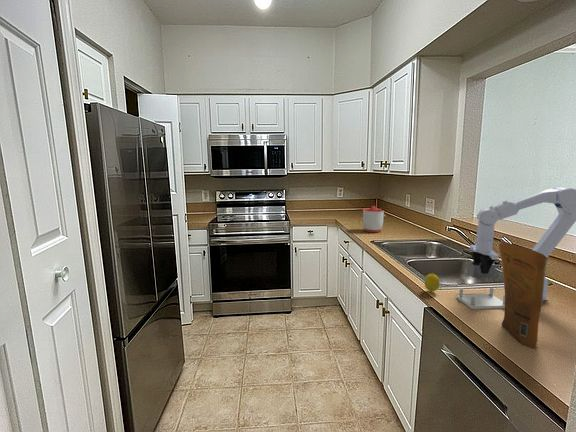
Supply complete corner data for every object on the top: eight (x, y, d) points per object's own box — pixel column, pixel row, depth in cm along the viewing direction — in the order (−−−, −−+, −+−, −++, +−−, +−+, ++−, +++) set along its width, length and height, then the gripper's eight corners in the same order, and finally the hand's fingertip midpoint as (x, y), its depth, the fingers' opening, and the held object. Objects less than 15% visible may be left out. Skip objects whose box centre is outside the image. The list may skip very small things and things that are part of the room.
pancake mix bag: (522, 351, 90) (534, 255, 85) (488, 318, 108) (497, 238, 104) (548, 352, 89) (562, 255, 84) (509, 319, 108) (519, 238, 103)
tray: (490, 296, 126) (491, 287, 125) (509, 308, 116) (510, 297, 115) (456, 297, 125) (457, 287, 124) (472, 309, 115) (473, 298, 115)
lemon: (426, 288, 134) (427, 270, 133) (440, 291, 131) (441, 272, 130) (422, 292, 130) (423, 273, 129) (436, 295, 127) (438, 276, 125)
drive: (488, 273, 132) (489, 261, 132) (494, 276, 128) (495, 264, 128) (466, 273, 132) (468, 261, 131) (472, 277, 128) (474, 265, 127)
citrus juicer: (388, 233, 237) (389, 206, 234) (365, 233, 237) (366, 207, 233) (381, 229, 253) (382, 204, 249) (359, 229, 252) (360, 204, 249)
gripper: (464, 235, 135) (461, 265, 137) (487, 243, 120) (483, 278, 123) (480, 234, 135) (477, 265, 137) (505, 243, 121) (501, 277, 123)
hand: (481, 271), depth 130 cm, fingers closed on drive, 4 cm apart
